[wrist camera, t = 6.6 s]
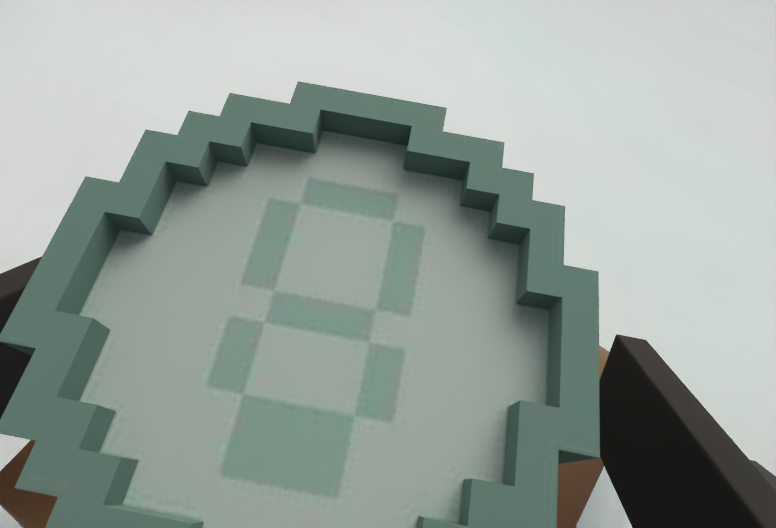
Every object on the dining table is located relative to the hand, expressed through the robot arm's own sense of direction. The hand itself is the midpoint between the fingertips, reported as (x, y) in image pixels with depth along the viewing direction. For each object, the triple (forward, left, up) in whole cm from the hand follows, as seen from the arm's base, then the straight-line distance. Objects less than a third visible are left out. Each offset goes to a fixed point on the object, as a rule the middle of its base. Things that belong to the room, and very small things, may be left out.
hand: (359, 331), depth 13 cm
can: (+1, -2, -8) cm, 8 cm away
